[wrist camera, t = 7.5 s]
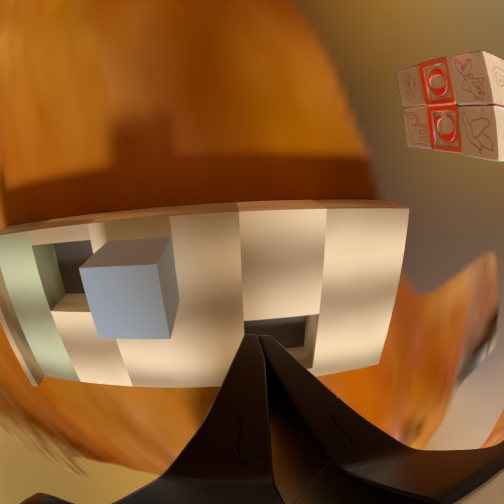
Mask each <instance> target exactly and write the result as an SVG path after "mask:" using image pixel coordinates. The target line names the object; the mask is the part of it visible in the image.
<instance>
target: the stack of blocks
mask: <svg viewBox="0 0 504 504" xmlns="http://www.w3.org/2000/svg"><path fill="white" fill-rule="evenodd" d="M396 75H397V81H398V86H399V92H400V97H401V103H402V108H403V109H402V112H403V120H404V126H405V136H406V143H407V147H414V148H425V149H432V150H437V151H446V152H453V153H462V154H463V155H464V156H469V157H475V158H481V159H487V160H492V161H498V162H504V60H503V59H501V58H499V57H496V56H495V55H492V54H490V53H488V52H486V51H477V52H471V53H467V54H462V55H457V56H453V57H450V58H449V57H441V58H438V59H434V60H430V61H427V62H424V63H420V64H418V65H414V66H411V67H408V68H405V69H402V70H399V71H396Z"/></svg>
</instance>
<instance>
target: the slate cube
mask: <svg viewBox="0 0 504 504" xmlns="http://www.w3.org/2000/svg"><path fill="white" fill-rule="evenodd" d="M79 271H80V275H81V279H82V283H83V287H84V290H85V294H86V298H87V301H88V305H89V308H90V311H91V314H92V318H93V321H94V324H95V327H96V330H97V333H98V336H99V338H109V339H171V335H172V331H173V326H174V322H175V318H176V314H177V309H178V305H179V301H180V298H179V291H178V284H177V277H176V270H175V262H174V254H173V245H172V237H163V238H149V239H134V240H121V241H107V242H106V243H105V244H104V245H103V246H102V247H101V248H100V249H99V250H97V251H96V252H95V253H94V254H93V255H92V256H91V257H90V258H89V259H88V260H87V261H86V262H85V263H84V264H83V265H81V266H80V267H79Z"/></svg>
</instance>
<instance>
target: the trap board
mask: <svg viewBox="0 0 504 504" xmlns="http://www.w3.org/2000/svg"><path fill="white" fill-rule="evenodd" d="M408 216H409V208H406V207H404V206H401V205H398V204H396V203H393V202H391V201H388V200H350V199H336V200H277V201H250V202H229V203H211V204H195V205H181V206H168V207H156V208H145V209H135V210H124V211H115V212H106V213H97V214H89V215H80V216H73V217H65V218H58V219H51V220H44V221H37V222H31V223H24V224H18V225H12V226H8V227H6V228H4V229H2V230H0V322H1V325H2V327H3V329H4V332H5V334H6V336H7V338H8V340H9V343H10V345H11V347H12V349H13V351H14V353H15V355H16V357H17V359H18V361H19V363H20V364H21V366H22V368H23V370H24V372H25V374H26V375H27V377H28V379H29V381H30V382H31V384H32V385H33V386H37V387H39V385H40V383H41V382H42V380H43V378H44V377H45V376H47V377H53V378H59V379H66V380H73V381H80V382H89V383H98V384H109V385H121V386H138V387H219V386H221V385H222V383H223V380H224V378H225V376H226V374H227V372H228V370H229V367H230V365H231V363H232V361H233V359H234V356H235V354H236V352H237V350H238V348H239V345H240V343H241V341H242V339H243V336H244V335H245V334H253V335H257V336H259V335H270V336H272V337H273V338H274V339H275V340H276V341H277V342H278V343H279V344H281V345H282V346H283V347H284V348H285V349H286V350H287V351H288V352H289V353H290V354H291V355H292V356H293V357H294V358H295V359H297V360H298V361H299V362H300V363H301V364H302V365H303V366H304V367H305V368H306V369H307V370H308V371H310V372H311V373H312V374H313V375H314V376H315V377H316V376H322V375H327V374H333V373H339V372H344V371H349V370H354V369H358V368H363V367H368V366H372V365H376V364H378V363H379V360H380V357H381V353H382V350H383V346H384V343H385V339H386V335H387V332H388V328H389V324H390V320H391V316H392V311H393V307H394V302H395V298H396V293H397V288H398V283H399V278H400V272H401V267H402V261H403V254H404V248H405V241H406V233H407V225H408ZM163 237H172V245H173V254H174V262H175V270H176V277H177V284H178V291H179V298H180V301H179V305H178V309H177V314H176V318H175V322H174V326H173V331H172V335H171V339H109V338H99V336H98V333H97V330H96V327H95V324H94V321H93V318H92V314H91V311H90V308H89V305H88V301H87V298H86V294H85V290H84V287H83V283H82V279H81V275H80V271H79V267H80V266H81V265H83V264H84V263H85V262H86V261H87V260H88V259H89V258H90V257H91V256H92V255H93V254H94V253H95V252H96V251H97V250H99V249H100V248H101V247H102V246H103V245H104V244H105V243H106V242H107V241H121V240H134V239H149V238H163Z"/></svg>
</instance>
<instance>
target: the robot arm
mask: <svg viewBox="0 0 504 504" xmlns="http://www.w3.org/2000/svg"><path fill="white" fill-rule="evenodd" d="M20 504H74V503H71V502H68V501H66V500H63V499H60V498H57V497H55V496H52V495H49V494H44V493H36V494H34V495H32V496H31V497H29V498H27V499H26V500H24V501H23V502H21V503H20ZM112 504H504V441H502V442H501V443H499V444H497V445H495V446H492V447H488V448H482V449H471V450H446V451H429V450H418V449H414V448H411V447H408V446H406V445H404V444H402V443H401V442H399V441H397V440H396V439H394V438H393V437H391V436H390V435H388V434H387V433H385V432H384V431H382V430H381V429H379V428H378V427H376V426H375V425H373V424H372V423H370V422H369V421H367V420H366V419H365V418H363V417H362V416H360V415H359V414H358V413H357V412H355V411H354V410H353V409H352V408H350V407H349V406H348V405H347V404H346V403H344V402H343V401H342V400H341V399H340V398H337V396H336V395H335V394H334V393H333V392H332V391H331V390H330V389H328V388H327V387H326V386H325V385H324V384H323V383H322V382H321V381H319V380H318V379H317V378H316V377H315V376H314V375H313V374H312V373H311V372H310V371H308V370H307V369H306V368H305V367H304V366H303V365H302V364H301V363H300V362H299V361H298V360H297V359H295V358H294V357H293V356H292V355H291V354H290V353H289V352H288V351H287V350H286V349H285V348H284V347H283V346H282V345H281V344H279V343H278V342H277V341H276V340H275V339H274V338H273V337H272V336H270V335H259V336H257V335H253V334H245V335H244V336H243V339H242V341H241V343H240V345H239V348H238V350H237V352H236V354H235V356H234V359H233V361H232V363H231V365H230V367H229V370H228V372H227V374H226V376H225V378H224V380H223V383H222V385H221V387H220V389H219V391H218V393H217V395H216V398H215V400H214V401H213V404H212V406H211V408H210V410H209V412H208V413H207V415H206V417H205V419H204V421H203V422H202V424H201V425H200V427H199V428H198V430H197V431H196V433H195V434H194V436H193V437H192V438H191V440H190V441H189V442H188V444H187V445H186V446H185V447H184V449H183V450H182V451H181V453H180V454H179V455H178V457H177V458H176V459H175V460H174V462H173V463H172V464H171V465H170V467H169V468H168V469H167V470H166V471H165V472H164V473H163V474H162V475H161V476H159V477H158V478H157V479H156V480H154V481H152V482H150V483H149V484H147V485H145V486H144V487H142V488H140V489H138V490H137V491H135V492H133V493H131V494H129V495H128V496H126V497H124V498H122V499H120V500H118V501H116V502H114V503H112Z"/></svg>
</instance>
